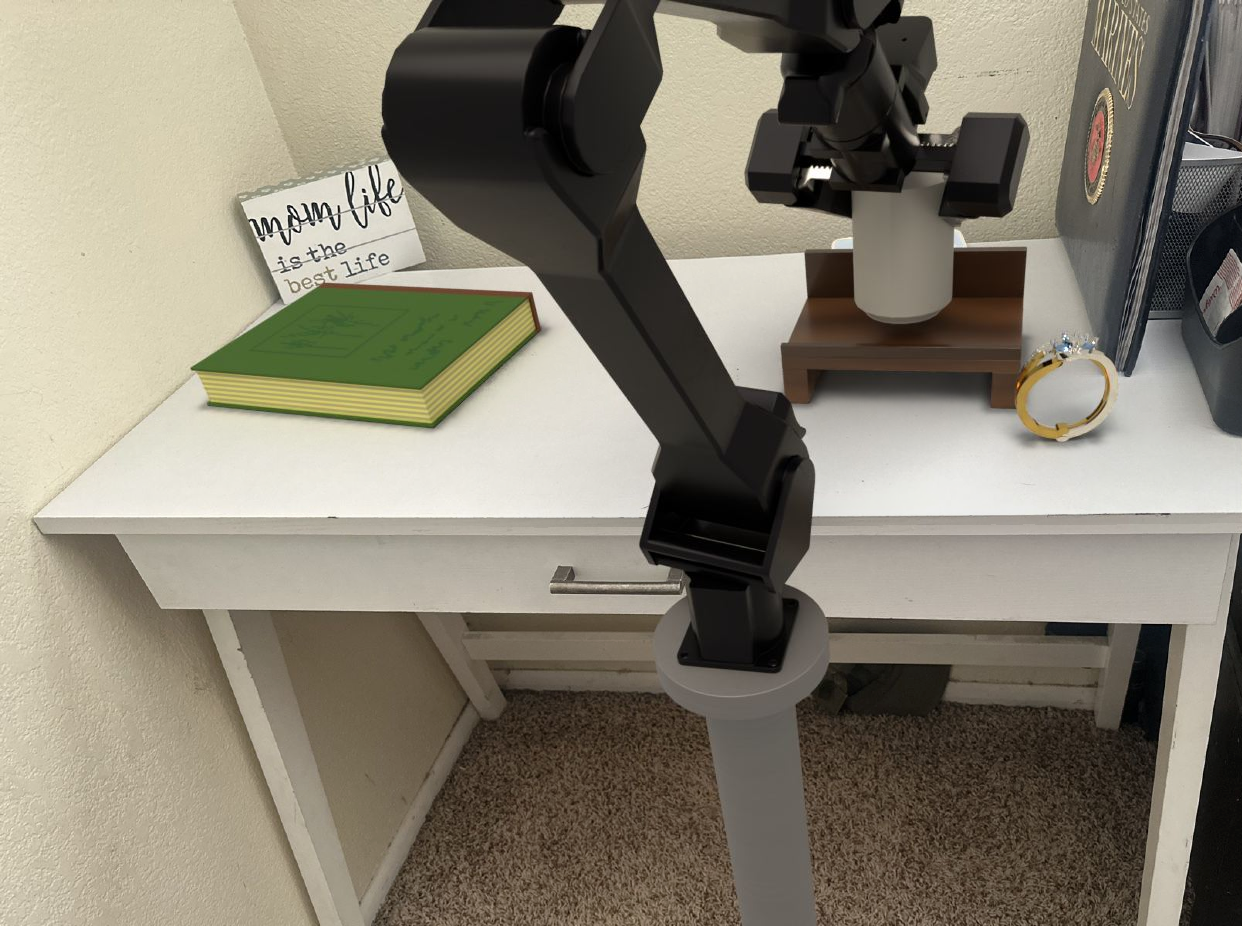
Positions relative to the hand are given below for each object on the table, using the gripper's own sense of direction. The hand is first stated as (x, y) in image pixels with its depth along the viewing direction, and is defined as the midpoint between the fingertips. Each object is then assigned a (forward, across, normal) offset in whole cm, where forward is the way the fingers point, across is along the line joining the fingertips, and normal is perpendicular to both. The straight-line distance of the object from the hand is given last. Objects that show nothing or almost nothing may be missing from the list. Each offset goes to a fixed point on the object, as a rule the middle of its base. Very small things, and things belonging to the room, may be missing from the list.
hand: (909, 218), depth 76 cm
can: (+4, 0, +6) cm, 7 cm away
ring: (+4, -14, +14) cm, 20 cm away
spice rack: (+9, 0, +9) cm, 13 cm away
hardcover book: (0, +48, +18) cm, 51 cm away
